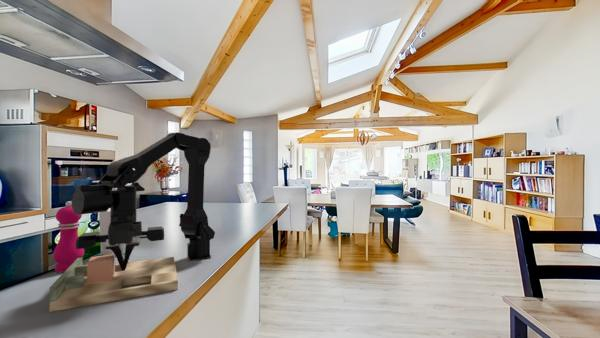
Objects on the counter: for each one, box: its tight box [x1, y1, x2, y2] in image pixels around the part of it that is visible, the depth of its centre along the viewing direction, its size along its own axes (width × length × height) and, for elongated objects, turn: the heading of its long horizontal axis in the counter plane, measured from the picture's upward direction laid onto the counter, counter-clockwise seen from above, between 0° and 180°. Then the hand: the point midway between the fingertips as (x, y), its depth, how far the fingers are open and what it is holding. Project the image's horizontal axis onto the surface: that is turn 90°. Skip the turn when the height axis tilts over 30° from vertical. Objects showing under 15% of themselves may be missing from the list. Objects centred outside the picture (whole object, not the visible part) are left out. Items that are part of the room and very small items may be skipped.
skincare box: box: [99, 208, 126, 256], centre depth 98 cm, size 8×7×16 cm
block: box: [86, 254, 116, 284], centre depth 70 cm, size 5×5×5 cm
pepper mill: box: [52, 200, 85, 273], centre depth 83 cm, size 7×7×20 cm
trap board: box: [49, 256, 179, 313], centre depth 72 cm, size 24×22×5 cm
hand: (123, 270), depth 72 cm, fingers closed
